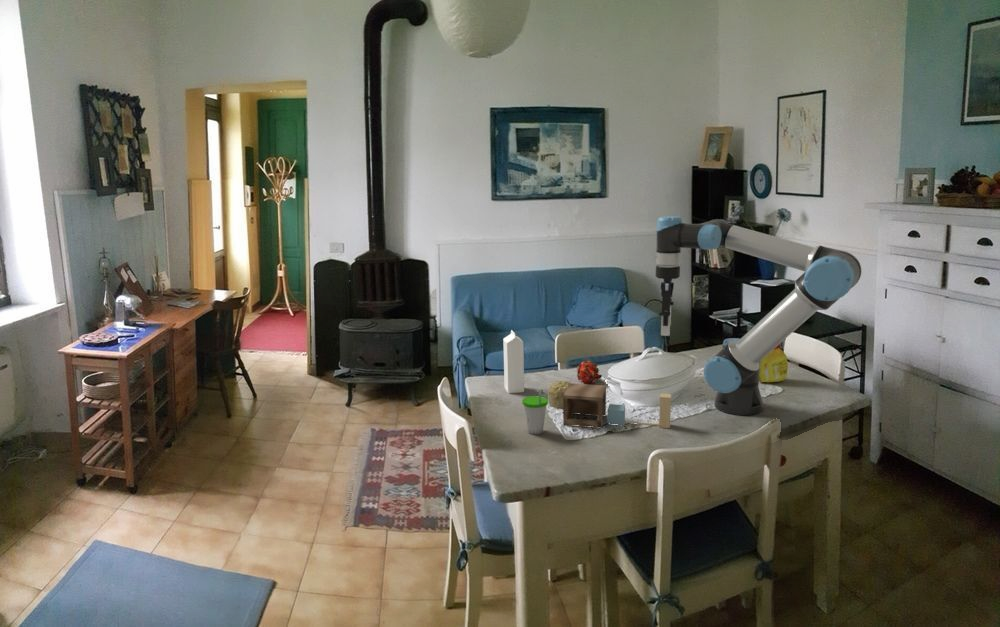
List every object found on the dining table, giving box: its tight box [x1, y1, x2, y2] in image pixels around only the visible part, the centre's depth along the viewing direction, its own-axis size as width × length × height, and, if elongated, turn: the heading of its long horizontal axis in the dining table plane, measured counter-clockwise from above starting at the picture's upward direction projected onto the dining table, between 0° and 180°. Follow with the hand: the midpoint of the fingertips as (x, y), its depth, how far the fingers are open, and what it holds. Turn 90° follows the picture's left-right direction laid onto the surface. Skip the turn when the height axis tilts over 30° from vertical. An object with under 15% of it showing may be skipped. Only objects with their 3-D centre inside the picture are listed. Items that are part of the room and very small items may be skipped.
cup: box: [521, 389, 549, 436], centre depth 213 cm, size 8×8×15 cm
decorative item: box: [547, 380, 571, 409], centre depth 237 cm, size 10×10×10 cm
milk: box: [502, 329, 525, 394], centre depth 250 cm, size 6×6×22 cm
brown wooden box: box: [562, 382, 607, 428], centre depth 222 cm, size 12×11×10 cm
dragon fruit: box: [576, 360, 603, 385], centre depth 258 cm, size 8×8×12 cm
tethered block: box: [606, 393, 672, 429], centre depth 218 cm, size 19×5×10 cm, turn 75°
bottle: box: [759, 343, 789, 383], centre depth 252 cm, size 12×6×20 cm, turn 102°
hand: (665, 330), depth 226 cm, fingers open, 13 cm apart
